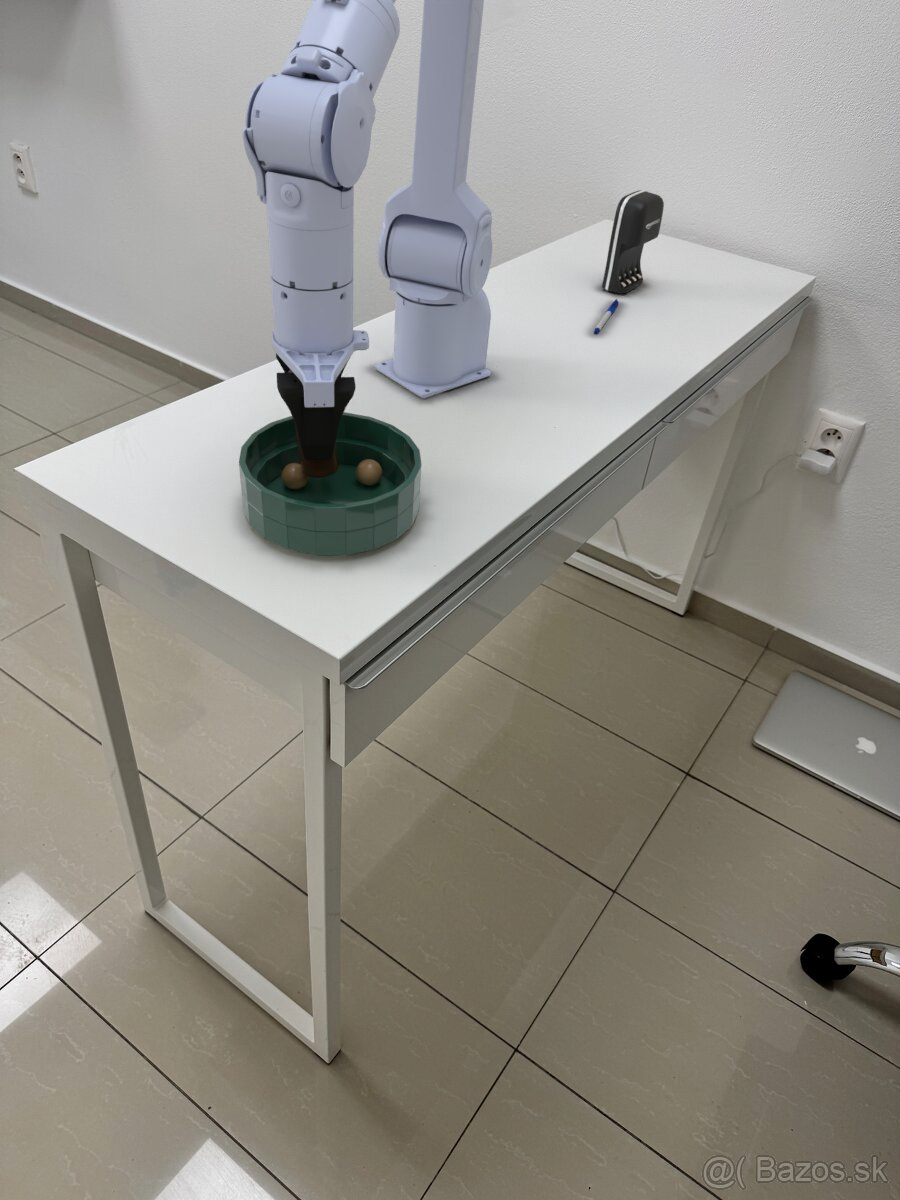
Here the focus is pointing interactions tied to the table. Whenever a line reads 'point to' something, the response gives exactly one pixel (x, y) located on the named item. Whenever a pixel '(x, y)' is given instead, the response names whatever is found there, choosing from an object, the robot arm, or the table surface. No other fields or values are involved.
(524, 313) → the table surface
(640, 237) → the battery charger
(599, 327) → the ballpoint pen
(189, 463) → the table surface
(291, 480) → the bead
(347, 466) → the bowl
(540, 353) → the table surface
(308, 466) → the brown wooden cylinder
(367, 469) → the bead
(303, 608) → the table surface
